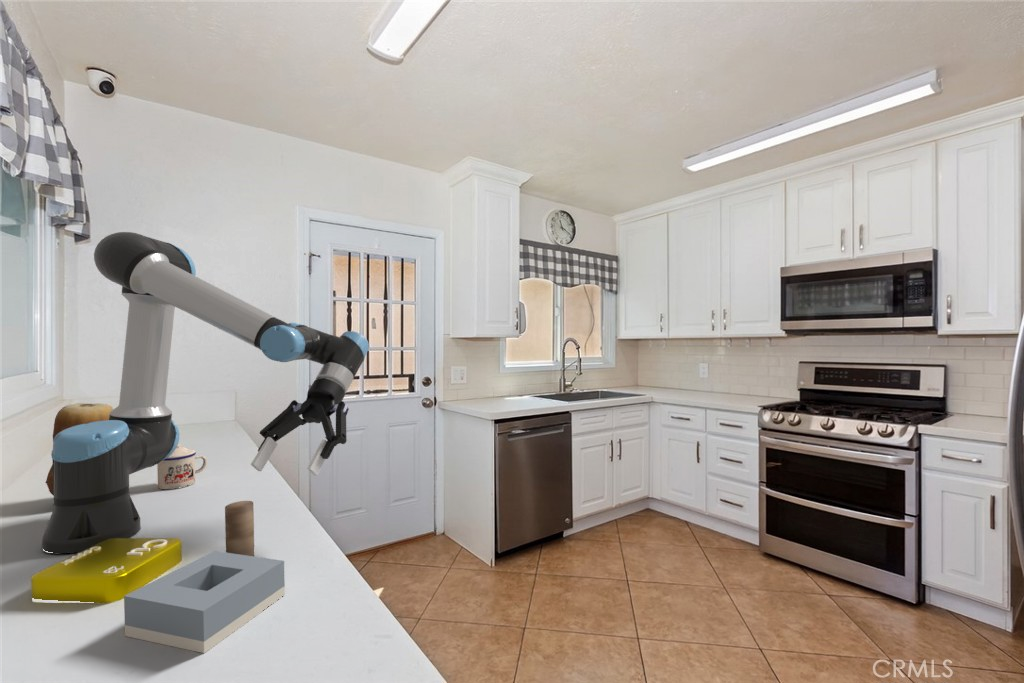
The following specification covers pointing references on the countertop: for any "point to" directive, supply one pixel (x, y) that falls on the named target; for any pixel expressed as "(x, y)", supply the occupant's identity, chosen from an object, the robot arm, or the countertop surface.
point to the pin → (239, 528)
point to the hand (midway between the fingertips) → (283, 470)
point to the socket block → (203, 600)
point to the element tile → (107, 570)
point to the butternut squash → (77, 422)
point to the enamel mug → (178, 469)
